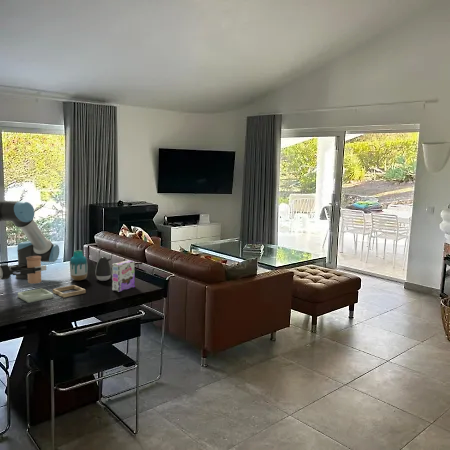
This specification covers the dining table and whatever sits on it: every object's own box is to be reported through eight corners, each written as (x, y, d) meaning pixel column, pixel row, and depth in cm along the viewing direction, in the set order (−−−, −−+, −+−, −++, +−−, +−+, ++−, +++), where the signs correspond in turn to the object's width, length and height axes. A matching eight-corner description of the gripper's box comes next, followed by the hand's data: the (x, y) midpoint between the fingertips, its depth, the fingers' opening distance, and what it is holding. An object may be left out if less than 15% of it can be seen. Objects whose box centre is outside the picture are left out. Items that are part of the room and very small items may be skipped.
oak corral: (52, 292, 263) (52, 289, 262) (74, 288, 272) (74, 284, 272) (63, 297, 253) (63, 294, 253) (85, 292, 263) (85, 289, 263)
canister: (25, 281, 251) (24, 257, 249) (38, 279, 257) (37, 255, 255) (30, 284, 246) (29, 259, 244) (44, 282, 251) (43, 257, 250)
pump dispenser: (107, 282, 287) (107, 259, 284) (92, 281, 289) (92, 257, 287) (114, 278, 297) (114, 255, 294) (100, 277, 299) (99, 254, 296)
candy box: (118, 292, 266) (118, 265, 264) (111, 290, 269) (111, 263, 267) (135, 287, 278) (135, 260, 275) (128, 285, 281) (128, 259, 278)
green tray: (17, 297, 253) (17, 292, 252) (42, 292, 263) (42, 288, 262) (28, 302, 243) (28, 298, 243) (53, 297, 253) (53, 293, 253)
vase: (78, 283, 283) (76, 253, 280) (67, 280, 289) (65, 251, 286) (91, 279, 292) (90, 250, 289) (80, 276, 298) (79, 248, 295)
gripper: (-7, 276, 245) (35, 269, 261) (7, 283, 231) (51, 276, 248) (-8, 262, 244) (35, 257, 260) (7, 269, 230) (50, 262, 246)
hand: (42, 266), depth 254 cm, fingers closed on canister, 7 cm apart
